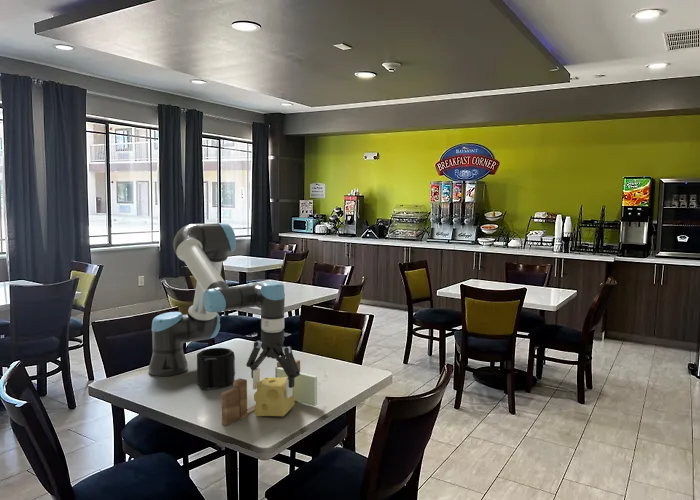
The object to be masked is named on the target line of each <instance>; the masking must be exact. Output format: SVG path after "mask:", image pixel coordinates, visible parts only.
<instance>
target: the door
mask: <svg viewBox="0 0 700 500" xmlns="http://www.w3.org/2000/svg"><path fill="white" fill-rule="evenodd" d="M274 374H275V376H274V378H278V377H288V376H287V375H286V373H285V371H284V370H283V368H280V367H279V368H278V367H277V366H276V367H275V373H274ZM293 388H294V399H295V402H298V403H302V404H306V405H309V406H312V407H316V406H317V405H318V376H317V375H313V374H309V373H305V372H301V371H300V375H299V376H297V377H295V380H294V387H293Z"/></svg>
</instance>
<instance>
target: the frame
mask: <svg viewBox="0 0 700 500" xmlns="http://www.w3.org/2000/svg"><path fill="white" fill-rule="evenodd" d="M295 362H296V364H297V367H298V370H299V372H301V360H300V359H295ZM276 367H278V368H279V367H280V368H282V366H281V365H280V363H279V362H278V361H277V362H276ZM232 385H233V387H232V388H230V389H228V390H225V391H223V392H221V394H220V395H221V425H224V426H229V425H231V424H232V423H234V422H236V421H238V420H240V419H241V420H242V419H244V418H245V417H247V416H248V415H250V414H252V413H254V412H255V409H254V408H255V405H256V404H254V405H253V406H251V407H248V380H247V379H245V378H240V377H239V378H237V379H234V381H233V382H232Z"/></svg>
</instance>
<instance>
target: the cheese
mask: <svg viewBox="0 0 700 500" xmlns="http://www.w3.org/2000/svg"><path fill="white" fill-rule="evenodd" d="M286 378H287V377H278V378H275V377H264V378H263V379H260V382H259V383H258V384H257V389H256V391H255V392H254V394H253V400H254V402H255V404H254V405H255V408H254V409H255V411H254V414H255V416H256V417H284V416H285V415H286V414H288V412H289V411H290V410H292V408H293V407H294V406H295V404H296V403H295V402H296V401H295V399H294V388H293V395H292V396H291V397H289V398H286Z"/></svg>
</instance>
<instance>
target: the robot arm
mask: <svg viewBox="0 0 700 500" xmlns="http://www.w3.org/2000/svg"><path fill="white" fill-rule="evenodd" d="M172 244H173V250H174V253H175V254H176V256H177V258H178V259H179V260H180V261H182V262H184V263H185V265H186V266H187V268H188V269H189V271H190V272H191V274H192V276H193V277H194V279H195V280H196V285H195V291H194V297H193V304H192V305H191V306H189V307H188V310H187V313H185V314H183V313H182V312H180V311H169V312H164V313H160V314H159V315H156V316H155V317H154V318H152V322H151V335H152V355H151V359H150V362H149V365H148V374H150V376H151V375H152V376H155V377H169V376H176V375H181V374H183V373H185V372H187V371H188V369H189V366H188V361H187V359H186V355H185V352H184V348H183V346H184V344H185V343H191V342H198V341H206V340H207V341H208V340H209V339H213V338H215V337H216V336H217V335H218V334H219V332H220V329H221V323H220V322H221V317H220V315H219V313H222V312H227V311H228V312H229V311H234V310H242V309H248V308H258V309H260V328H261V330H260V339H259V340H256V341H254V343H253V347H252V350H251V353H250V355H249V357H248V360H247V362H246V367H248V368H250V370H251V374H250V375H251V379H252V390H257V384H258V383H259V382H260V381H261V376H260V375H261V373H260V372H261V370H260V369H261V368H259V366H260V365H261V364H262V363H263V361H264V360H265V359H267V358H268V359H269V358H270V359H273V360H276V361H277V362H279V363H280V365H281V366H282V368H283V370H284V371H285V373H286V375H287V376H288V377H287V378H286V398H289V397H291V396H292V395H293V387H294V380H295V377H297V376H299V375H300V372H301V371H300V372H299V370H298V367H297V364H296V362H295V360H296V359H295V357H294V354H293V348H292V346H291V345H289V346H285V345H284V341H285V330H284V329H285V299H286V297H285V296H286V294H285V285H284V284H283V283H282V282H280V281H265V282H263V283H258V282H249V283H247V284H245V285H239V286H229V285H228V284H227V283H226V281H225V280H224V279H223V277H222V276H221V272H222V269H223V263H224V262H226V261H227V259H228V257H229V253H230V254H231V253H234V252H235V250H236V246H237V238H236V235H235V231H234V229H233V227H232V226H231V225H230V224H229V223H221V222H216V223H190V224H186V225H184V226H183V227H181V228H180V229H179V230H178V231H177V233H176V234H175V236H174V238H173V243H172ZM261 349H262V351H261V353H260V350H261ZM258 355H259V356H258Z"/></svg>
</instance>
